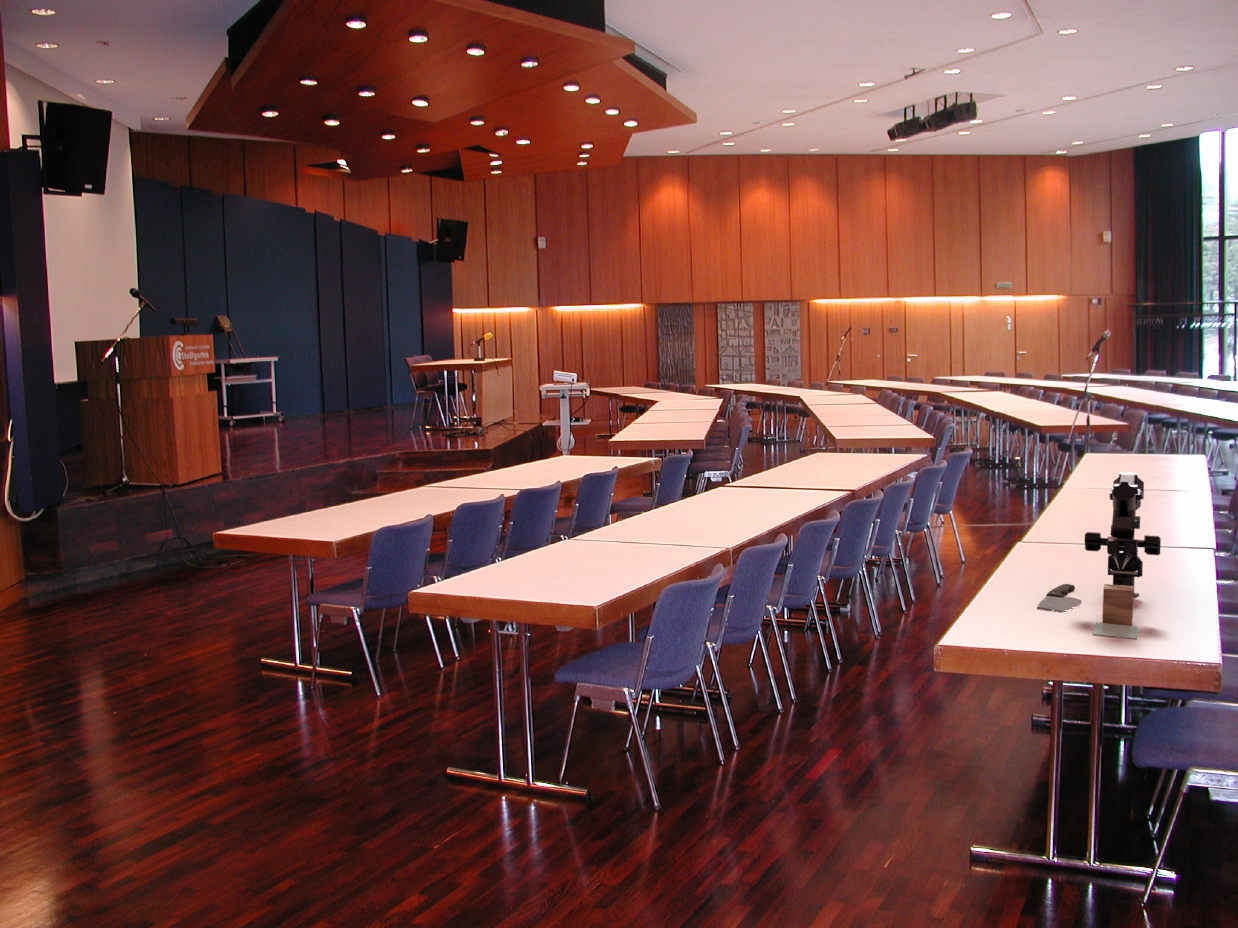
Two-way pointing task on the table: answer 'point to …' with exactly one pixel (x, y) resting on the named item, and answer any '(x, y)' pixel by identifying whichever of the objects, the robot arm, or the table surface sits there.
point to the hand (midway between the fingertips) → (1120, 568)
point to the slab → (1118, 604)
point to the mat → (1116, 630)
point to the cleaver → (1059, 599)
